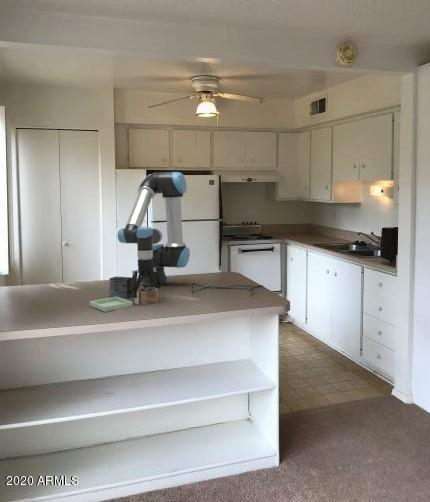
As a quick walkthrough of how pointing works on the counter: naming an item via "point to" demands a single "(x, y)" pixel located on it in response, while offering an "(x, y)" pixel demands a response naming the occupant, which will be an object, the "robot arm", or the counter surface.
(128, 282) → the small box
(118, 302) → the tray
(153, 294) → the collar
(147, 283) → the dark grey knobbed stand
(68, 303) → the counter surface
